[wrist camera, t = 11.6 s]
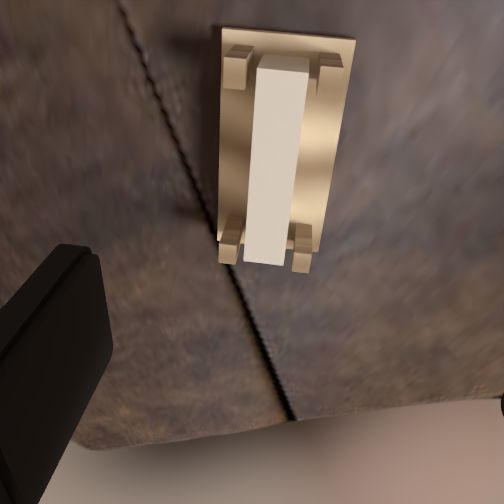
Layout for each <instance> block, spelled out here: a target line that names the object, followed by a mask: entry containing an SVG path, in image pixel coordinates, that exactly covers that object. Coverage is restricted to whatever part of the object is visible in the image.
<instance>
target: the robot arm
mask: <svg viewBox="0 0 504 504" xmlns="http://www.w3.org/2000/svg"><path fill="white" fill-rule="evenodd" d="M112 352H113V340H112V334H111V328H110V321H109V315H108V309H107V303H106V297H105V291H104V285H103V278H102V272H101V266H100V260H99V257H98V256H97V255H96V254H92V252H91V250H90V248H89V247H87V246H78V245H70V244H59V245H58V246H56V247H55V249H54V250H53V251H52V252H51V253H50V254H49V255H48V257H47V258H46V259H45V260H44V261H43V262H42V263H41V265H40V266H39V267H38V268H37V269H36V270H35V271H34V273H33V274H32V275H31V276H30V277H29V278H28V279H27V281H26V282H25V283H24V284H23V285H22V286H21V287H20V289H19V290H18V291H17V292H16V293H15V294H14V295H13V297H12V298H11V299H10V300H9V301H8V302H7V303H6V305H4V306H3V307H2V308H1V309H0V504H38V503H39V501H40V499H41V497H42V495H43V493H44V491H45V489H46V487H47V485H48V483H49V481H50V479H51V477H52V475H53V473H54V471H55V469H56V467H57V465H58V463H59V461H60V459H61V457H62V455H63V453H64V451H65V449H66V447H67V445H68V443H69V441H70V439H71V437H72V435H73V433H74V431H75V429H76V427H77V425H78V423H79V421H80V419H81V417H82V415H83V413H84V411H85V409H86V407H87V405H88V403H89V401H90V399H91V397H92V395H93V393H94V391H95V389H96V387H97V385H98V383H99V381H100V379H101V377H102V375H103V373H104V371H105V369H106V367H107V365H108V363H109V361H110V359H111V356H112ZM501 410H502V413H503V416H504V393H503V395H502V398H501Z"/></svg>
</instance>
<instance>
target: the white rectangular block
mask: <svg viewBox="0 0 504 504" xmlns="http://www.w3.org/2000/svg"><path fill="white" fill-rule="evenodd" d="M309 60H310V58H301V57H290V56H280V55H269V54H264V55H263V57H262V59H261V61H260V63H259V65H258V67H257V75H256V90H255V104H254V118H253V133H252V147H251V161H250V176H249V190H248V204H247V219H246V233H245V247H244V261H249V262H257V263H265V264H273V265H282V266H283V264H284V256H285V249H286V241H287V234H288V226H289V219H290V211H291V204H292V196H293V189H294V182H295V174H296V167H297V159H298V152H299V144H300V137H301V129H302V122H303V114H304V107H305V99H306V92H307V84H308V77H309Z"/></svg>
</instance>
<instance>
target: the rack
mask: <svg viewBox="0 0 504 504" xmlns="http://www.w3.org/2000/svg"><path fill="white" fill-rule="evenodd" d="M355 43H356V39H355V38H346V37H335V36H323V35H312V34H301V33H289V32H278V31H266V30H255V29H243V28H232V27H223V28H222V54H221V100H220V145H219V190H218V235H217V241H220V243H219V263H227V264H236V260H237V256H238V252H239V248H240V244H241V243H243V244H245V233H246V219H247V204H248V190H249V176H250V161H251V147H252V133H253V118H254V104H255V90H256V75H257V67H258V65H259V63H260V61H261V59H262V57H263V55H264V54H269V55H280V56H290V57H301V58H310V60H309V77H308V84H307V92H306V99H305V107H304V114H303V122H302V129H301V137H300V144H299V152H298V159H297V167H296V174H295V182H294V189H293V196H292V204H291V211H290V219H289V226H288V234H287V241H286V249H293V259H292V271H294V272H302V273H309V269H310V263H311V257H312V252H318V249H319V244H320V238H321V233H322V227H323V222H324V216H325V210H326V205H327V199H328V194H329V188H330V183H331V177H332V171H333V166H334V160H335V155H336V149H337V143H338V138H339V132H340V127H341V121H342V116H343V110H344V104H345V99H346V93H347V88H348V82H349V77H350V71H351V65H352V60H353V54H354V49H355Z"/></svg>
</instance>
